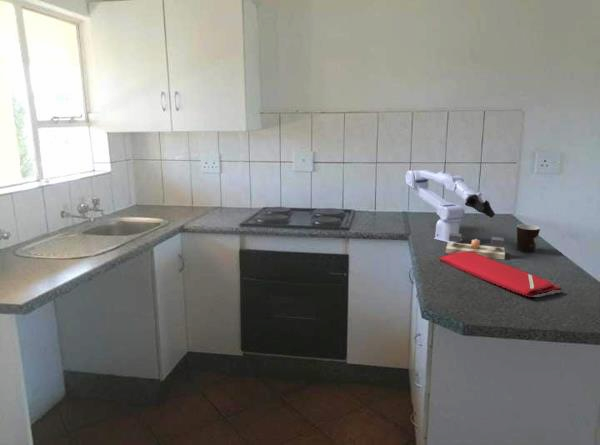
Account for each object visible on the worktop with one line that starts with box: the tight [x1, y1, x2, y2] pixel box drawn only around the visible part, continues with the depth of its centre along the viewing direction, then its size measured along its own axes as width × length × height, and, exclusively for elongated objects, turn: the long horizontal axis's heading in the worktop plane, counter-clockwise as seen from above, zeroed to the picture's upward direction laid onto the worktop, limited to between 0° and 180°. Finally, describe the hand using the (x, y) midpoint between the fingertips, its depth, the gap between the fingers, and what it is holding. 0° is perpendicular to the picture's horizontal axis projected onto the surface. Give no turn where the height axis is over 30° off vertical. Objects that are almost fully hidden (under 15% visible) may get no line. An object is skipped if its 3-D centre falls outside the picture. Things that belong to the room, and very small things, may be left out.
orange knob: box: [470, 238, 481, 249], centre depth 189 cm, size 3×3×3 cm
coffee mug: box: [516, 224, 541, 254], centre depth 193 cm, size 12×9×10 cm
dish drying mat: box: [439, 252, 563, 298], centre depth 164 cm, size 16×41×4 cm, turn 23°
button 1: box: [449, 233, 462, 243], centre depth 192 cm, size 4×4×2 cm
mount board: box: [445, 242, 506, 260], centre depth 190 cm, size 22×10×3 cm, turn 68°
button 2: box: [490, 236, 505, 248], centre depth 186 cm, size 4×4×2 cm
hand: (488, 213), depth 186 cm, fingers open, 7 cm apart
